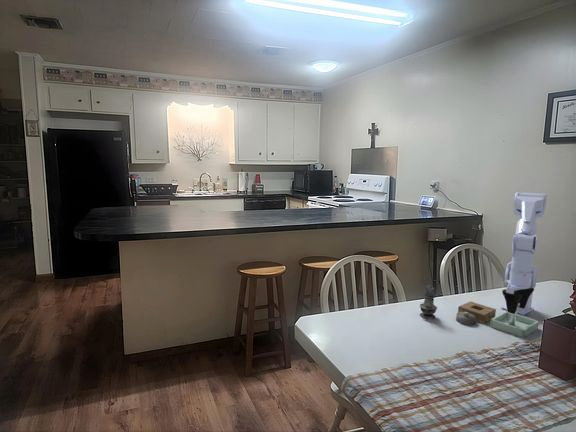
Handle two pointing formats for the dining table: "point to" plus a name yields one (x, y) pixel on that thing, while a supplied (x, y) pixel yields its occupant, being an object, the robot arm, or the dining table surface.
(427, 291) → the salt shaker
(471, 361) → the dining table surface
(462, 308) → the block
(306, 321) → the dining table surface
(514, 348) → the dining table surface
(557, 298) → the dining table surface
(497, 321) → the tray
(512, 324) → the lock pin
